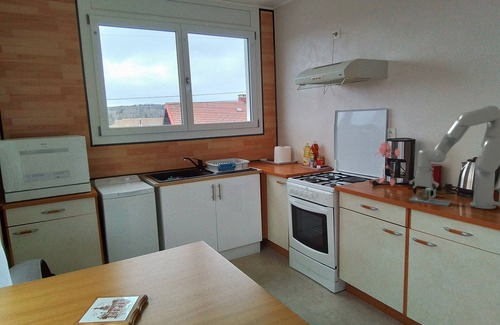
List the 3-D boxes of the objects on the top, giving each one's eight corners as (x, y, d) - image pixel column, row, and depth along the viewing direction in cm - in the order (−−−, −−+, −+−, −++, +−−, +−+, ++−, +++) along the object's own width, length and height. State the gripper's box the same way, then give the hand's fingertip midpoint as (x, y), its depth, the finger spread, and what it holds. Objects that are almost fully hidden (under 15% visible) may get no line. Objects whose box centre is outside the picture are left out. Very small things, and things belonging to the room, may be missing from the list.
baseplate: (451, 202, 202) (451, 201, 202) (447, 206, 194) (447, 204, 194) (413, 197, 216) (413, 196, 216) (409, 201, 209) (409, 199, 209)
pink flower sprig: (379, 181, 271) (379, 140, 265) (404, 187, 247) (405, 142, 242) (365, 183, 265) (365, 141, 260) (389, 190, 241) (390, 144, 236)
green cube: (435, 196, 219) (436, 188, 218) (433, 198, 214) (434, 190, 214) (426, 195, 222) (427, 187, 221) (424, 196, 218) (425, 189, 217)
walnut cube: (428, 199, 208) (429, 190, 207) (426, 201, 204) (427, 192, 203) (419, 197, 212) (419, 189, 211) (417, 199, 208) (417, 191, 207)
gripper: (440, 169, 202) (439, 195, 204) (411, 167, 213) (410, 192, 216) (438, 171, 196) (436, 198, 199) (408, 168, 208) (407, 194, 210)
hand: (423, 194), depth 207 cm, fingers open, 9 cm apart
